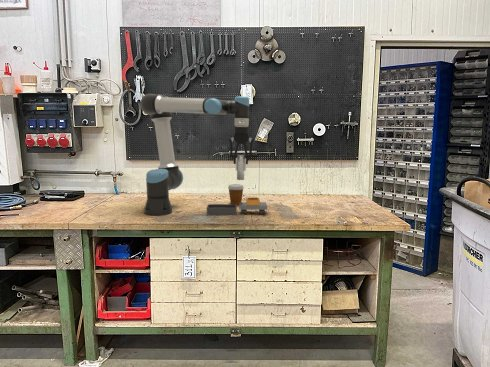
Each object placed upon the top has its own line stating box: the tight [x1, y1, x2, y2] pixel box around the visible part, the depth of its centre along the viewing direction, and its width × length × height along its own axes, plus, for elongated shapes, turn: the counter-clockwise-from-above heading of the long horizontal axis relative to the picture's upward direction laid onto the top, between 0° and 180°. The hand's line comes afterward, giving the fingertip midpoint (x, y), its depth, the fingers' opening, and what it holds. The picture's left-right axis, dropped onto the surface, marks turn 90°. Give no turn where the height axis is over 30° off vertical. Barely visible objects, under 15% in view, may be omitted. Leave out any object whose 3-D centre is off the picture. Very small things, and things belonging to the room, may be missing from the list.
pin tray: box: [206, 203, 238, 216], centre depth 206 cm, size 16×9×4 cm, turn 92°
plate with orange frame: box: [238, 197, 268, 216], centre depth 206 cm, size 15×9×8 cm, turn 92°
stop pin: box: [236, 154, 246, 181], centre depth 203 cm, size 4×4×13 cm
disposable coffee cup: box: [227, 183, 245, 207], centre depth 226 cm, size 10×10×12 cm
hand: (240, 170), depth 203 cm, fingers closed on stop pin, 4 cm apart
